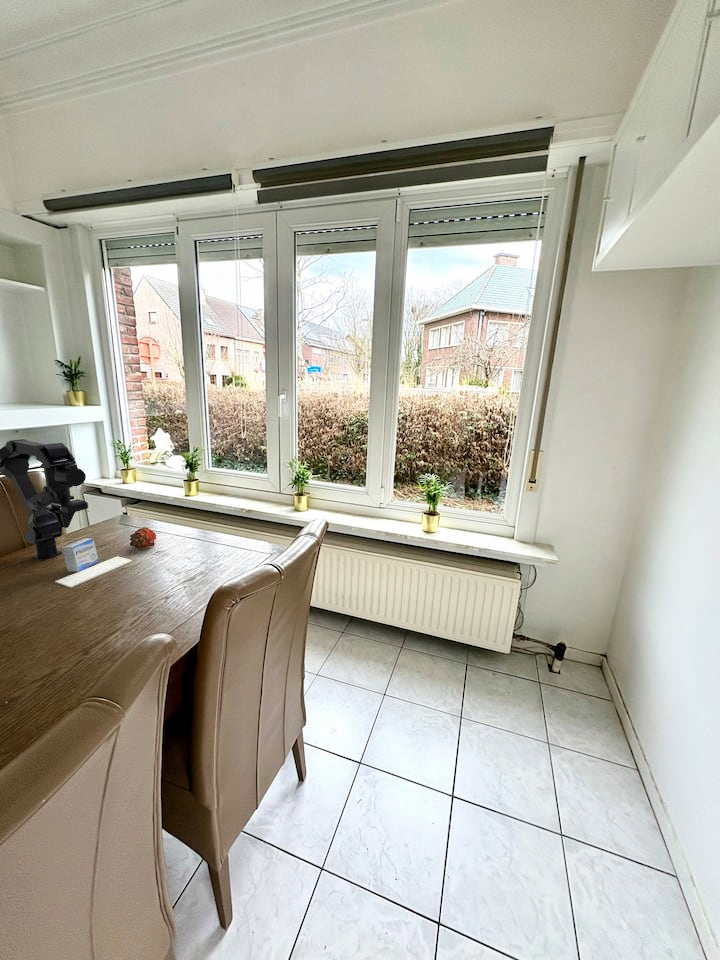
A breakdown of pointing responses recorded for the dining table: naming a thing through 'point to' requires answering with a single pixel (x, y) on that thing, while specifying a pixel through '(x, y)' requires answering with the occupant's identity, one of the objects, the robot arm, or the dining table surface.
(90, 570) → the mat
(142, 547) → the dragon fruit
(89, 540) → the medicine box
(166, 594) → the dining table surface
